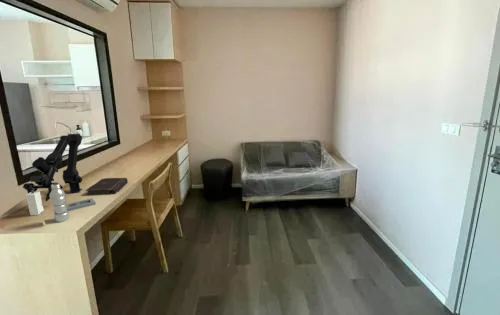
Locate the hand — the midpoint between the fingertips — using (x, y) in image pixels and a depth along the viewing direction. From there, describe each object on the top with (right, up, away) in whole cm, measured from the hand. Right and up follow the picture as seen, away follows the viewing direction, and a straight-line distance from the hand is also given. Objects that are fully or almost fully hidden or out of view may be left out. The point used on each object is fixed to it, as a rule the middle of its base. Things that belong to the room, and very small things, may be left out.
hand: (37, 201), depth 150 cm
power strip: (+19, -5, +6) cm, 20 cm away
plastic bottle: (+21, -9, -10) cm, 25 cm away
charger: (0, -7, 0) cm, 7 cm away
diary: (+20, +2, +35) cm, 41 cm away
